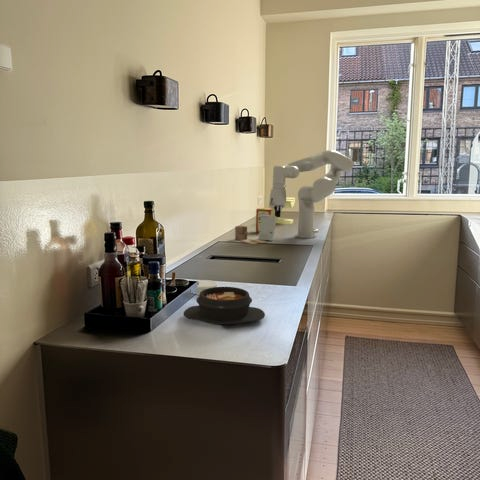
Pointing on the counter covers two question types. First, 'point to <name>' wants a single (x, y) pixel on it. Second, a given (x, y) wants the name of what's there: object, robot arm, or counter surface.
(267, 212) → the baking soda box
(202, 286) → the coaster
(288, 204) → the pale yellow c-shaped piece
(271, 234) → the skincare box
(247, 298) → the casserole
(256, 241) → the brass plate
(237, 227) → the walnut block
